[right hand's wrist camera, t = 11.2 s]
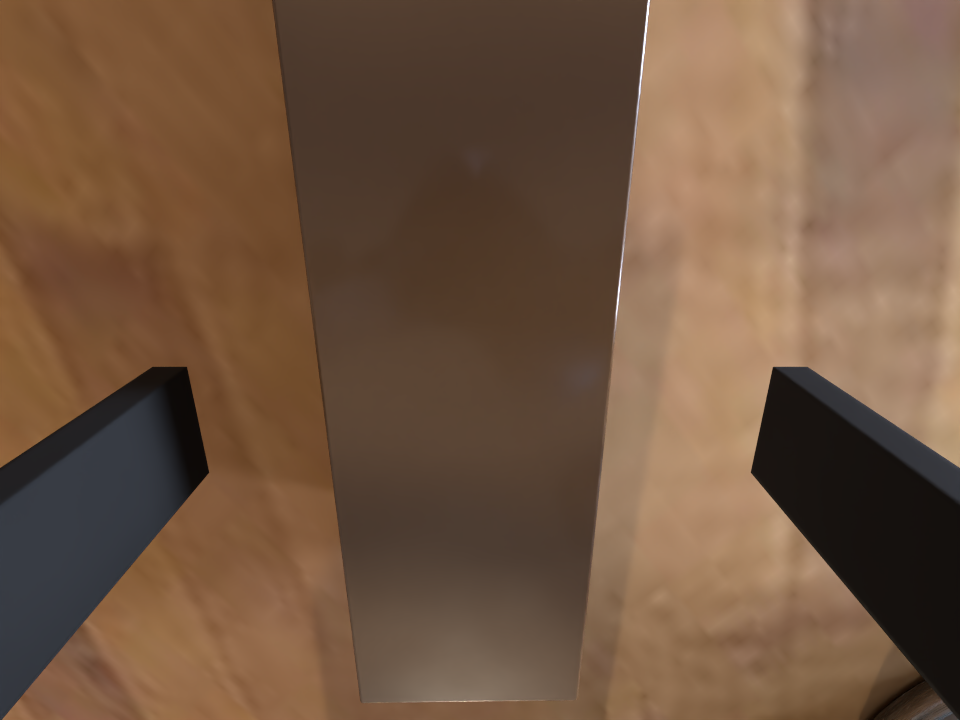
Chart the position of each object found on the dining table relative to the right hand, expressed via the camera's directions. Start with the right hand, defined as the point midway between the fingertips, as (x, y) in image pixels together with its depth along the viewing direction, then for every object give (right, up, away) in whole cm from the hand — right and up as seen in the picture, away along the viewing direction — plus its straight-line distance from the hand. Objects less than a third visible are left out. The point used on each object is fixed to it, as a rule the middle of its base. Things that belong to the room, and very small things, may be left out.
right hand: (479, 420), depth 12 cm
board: (0, +24, -3) cm, 24 cm away
